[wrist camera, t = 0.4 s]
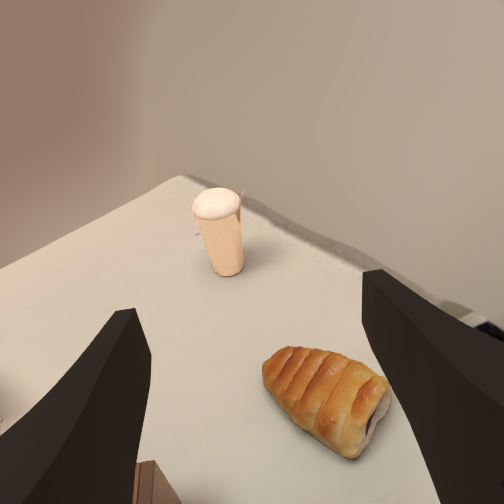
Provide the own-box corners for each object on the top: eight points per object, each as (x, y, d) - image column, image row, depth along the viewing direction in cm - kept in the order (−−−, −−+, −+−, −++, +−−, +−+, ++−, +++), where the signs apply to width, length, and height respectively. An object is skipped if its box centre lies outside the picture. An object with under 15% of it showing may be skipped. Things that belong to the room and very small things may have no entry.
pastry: (245, 401, 32) (238, 374, 30) (291, 341, 36) (289, 312, 34) (358, 472, 27) (361, 446, 25) (397, 394, 31) (403, 364, 29)
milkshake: (253, 282, 42) (240, 200, 35) (203, 280, 43) (181, 200, 36) (260, 252, 45) (249, 172, 39) (213, 251, 46) (195, 173, 40)
